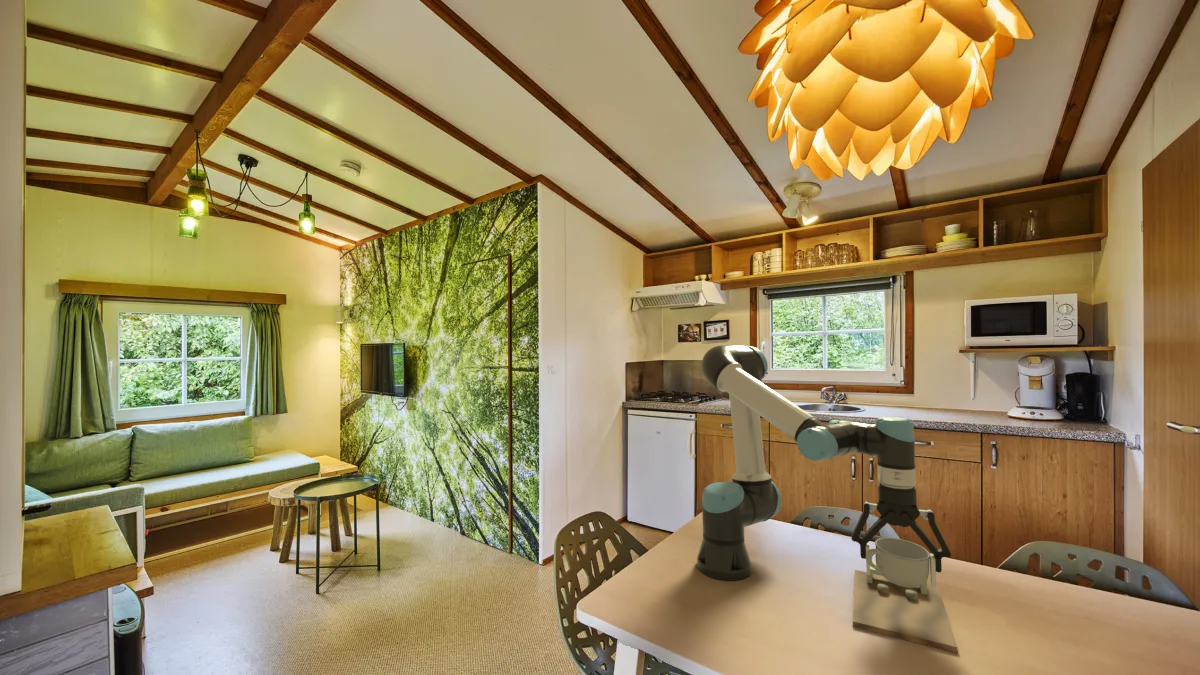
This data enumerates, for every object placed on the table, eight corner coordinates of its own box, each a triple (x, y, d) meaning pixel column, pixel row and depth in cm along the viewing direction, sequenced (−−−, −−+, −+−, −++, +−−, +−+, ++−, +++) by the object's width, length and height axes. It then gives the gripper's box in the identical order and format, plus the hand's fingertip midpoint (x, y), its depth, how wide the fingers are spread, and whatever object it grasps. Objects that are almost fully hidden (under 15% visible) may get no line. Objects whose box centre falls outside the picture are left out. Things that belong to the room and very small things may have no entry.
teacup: (913, 571, 112) (912, 537, 112) (942, 594, 101) (941, 557, 101) (853, 569, 113) (852, 536, 113) (875, 592, 102) (874, 555, 103)
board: (852, 626, 105) (852, 614, 105) (854, 574, 129) (854, 564, 129) (957, 653, 95) (957, 639, 95) (938, 591, 119) (938, 580, 120)
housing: (867, 582, 122) (866, 568, 122) (867, 572, 127) (866, 559, 127) (927, 595, 115) (926, 580, 115) (924, 584, 121) (923, 570, 121)
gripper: (837, 481, 110) (840, 573, 109) (965, 496, 98) (969, 599, 97) (839, 474, 117) (841, 561, 116) (958, 487, 105) (962, 584, 104)
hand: (899, 578), depth 107 cm, fingers closed on teacup, 12 cm apart
